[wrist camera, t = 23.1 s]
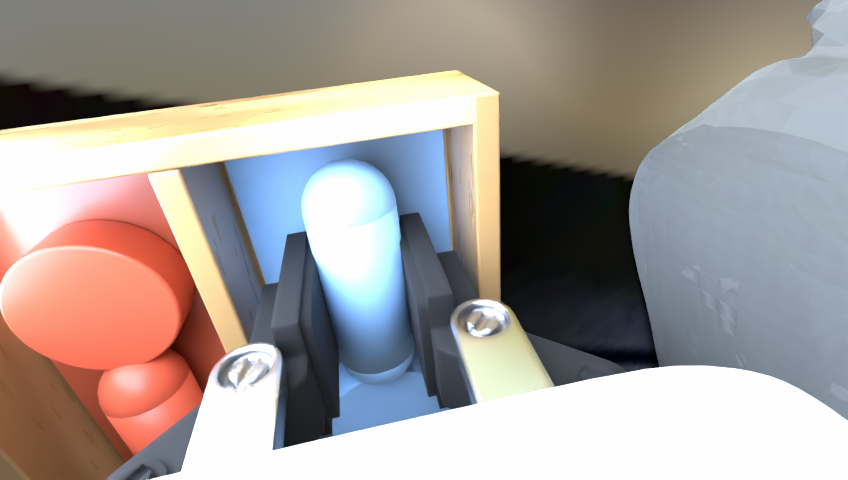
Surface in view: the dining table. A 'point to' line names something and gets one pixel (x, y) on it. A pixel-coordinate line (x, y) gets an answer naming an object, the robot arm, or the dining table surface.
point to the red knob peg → (110, 319)
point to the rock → (756, 224)
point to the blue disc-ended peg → (365, 295)
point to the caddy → (227, 221)
